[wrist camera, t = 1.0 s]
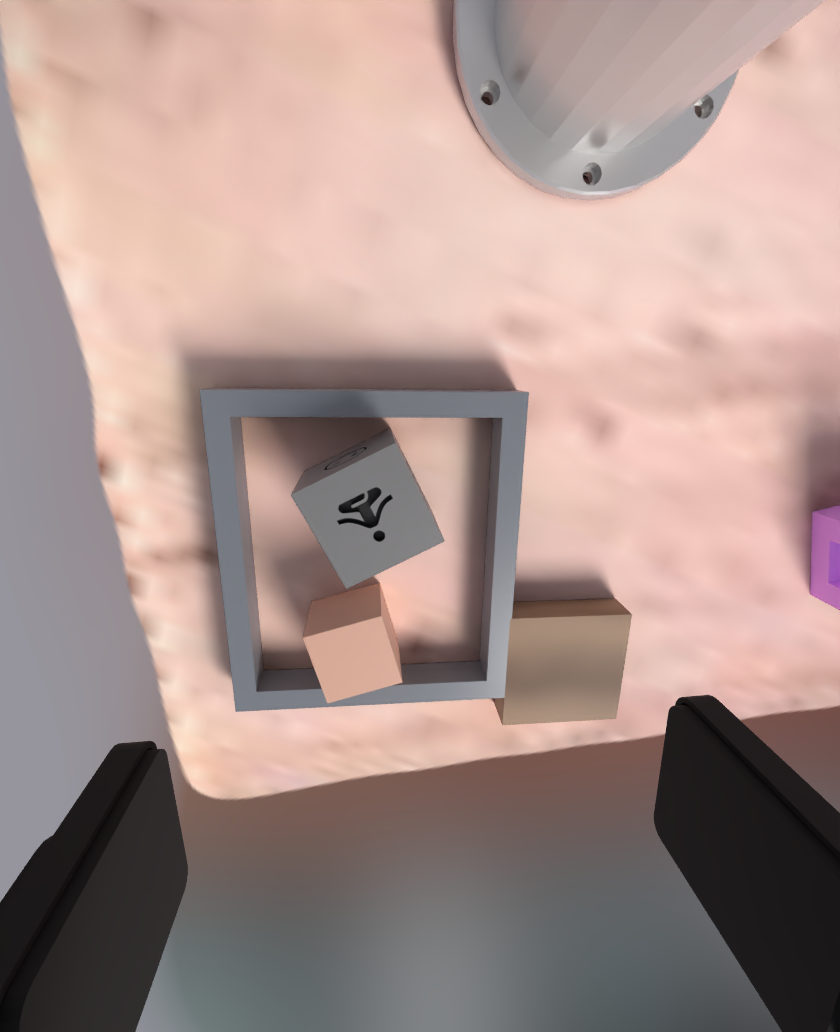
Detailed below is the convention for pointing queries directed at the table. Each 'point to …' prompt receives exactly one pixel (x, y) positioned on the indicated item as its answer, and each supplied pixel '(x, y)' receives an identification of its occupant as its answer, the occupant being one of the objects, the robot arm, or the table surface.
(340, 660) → the terracotta block
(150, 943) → the robot arm
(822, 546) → the bracket
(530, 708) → the tan block
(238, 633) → the gray rectangular frame
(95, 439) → the table surface
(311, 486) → the dice cube
